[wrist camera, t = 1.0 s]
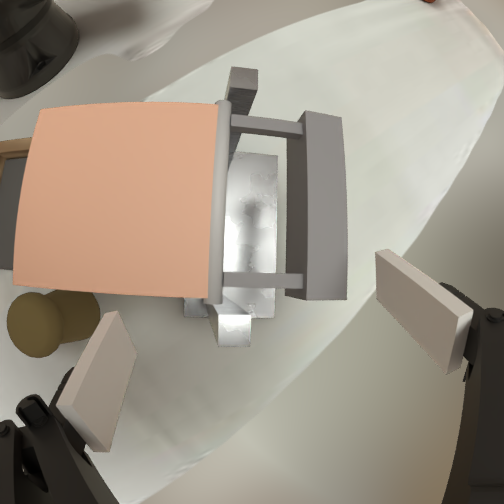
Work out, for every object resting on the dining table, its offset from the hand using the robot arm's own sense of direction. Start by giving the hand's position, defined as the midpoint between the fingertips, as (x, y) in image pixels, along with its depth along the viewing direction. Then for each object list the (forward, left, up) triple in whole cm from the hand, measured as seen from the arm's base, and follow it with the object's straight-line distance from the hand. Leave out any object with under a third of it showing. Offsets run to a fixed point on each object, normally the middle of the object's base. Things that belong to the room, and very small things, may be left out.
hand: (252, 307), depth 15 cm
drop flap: (-6, -4, -5) cm, 9 cm away
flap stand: (-6, +1, -17) cm, 18 cm away
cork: (+3, -16, -17) cm, 24 cm away
